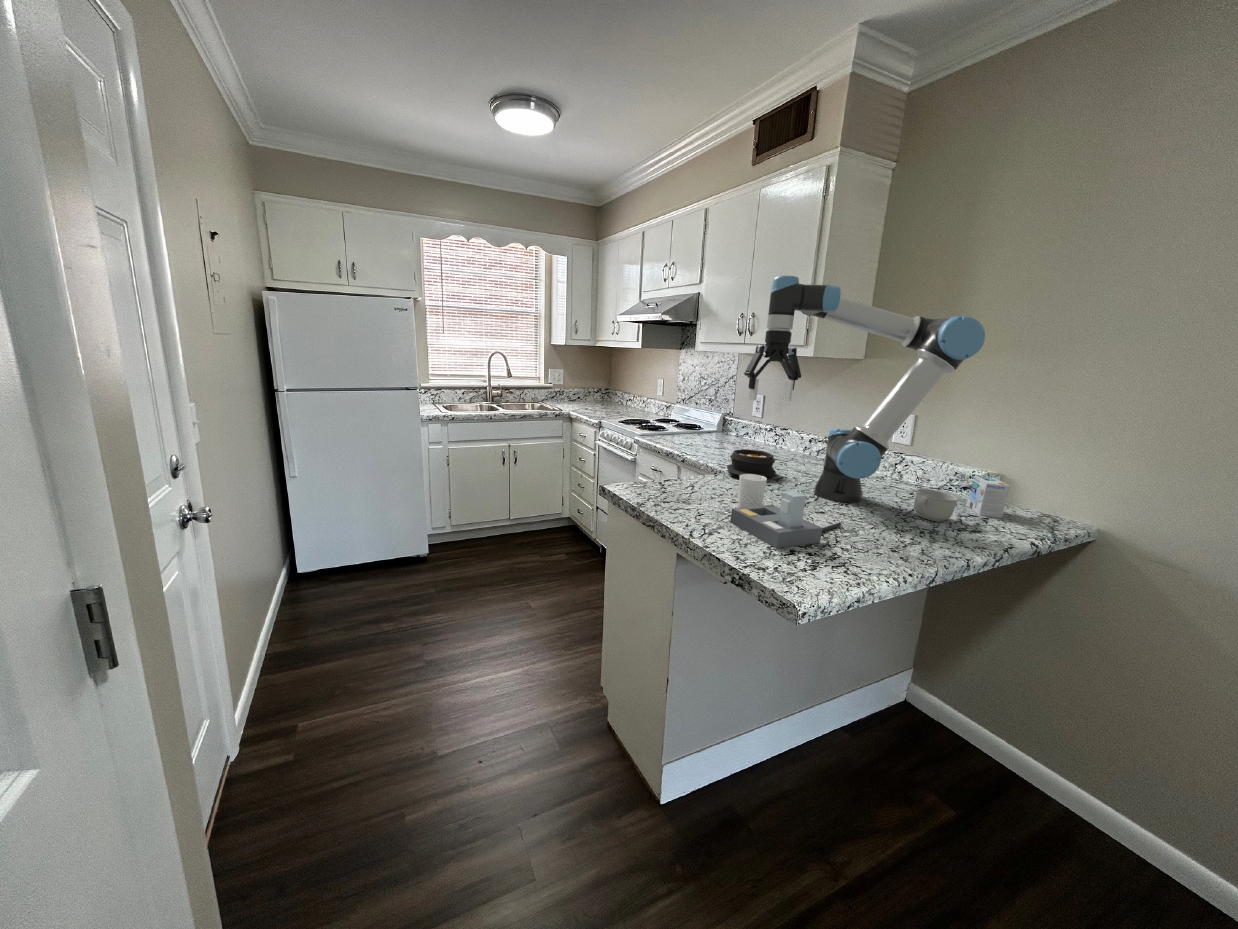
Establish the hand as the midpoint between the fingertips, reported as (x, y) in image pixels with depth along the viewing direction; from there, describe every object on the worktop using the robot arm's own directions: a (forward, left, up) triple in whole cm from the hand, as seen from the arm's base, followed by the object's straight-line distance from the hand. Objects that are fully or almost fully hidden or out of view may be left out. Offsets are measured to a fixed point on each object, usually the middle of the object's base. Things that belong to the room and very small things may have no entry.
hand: (770, 400), depth 159 cm
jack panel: (+17, +28, -32) cm, 46 cm away
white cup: (+11, +10, -32) cm, 35 cm away
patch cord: (+2, +31, -32) cm, 44 cm away
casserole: (-18, -27, -32) cm, 46 cm away
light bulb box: (-67, +31, -32) cm, 80 cm away
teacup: (-40, +31, -32) cm, 60 cm away
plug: (+17, +33, -32) cm, 49 cm away
